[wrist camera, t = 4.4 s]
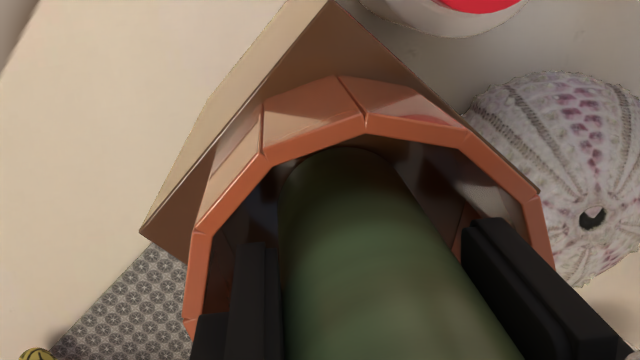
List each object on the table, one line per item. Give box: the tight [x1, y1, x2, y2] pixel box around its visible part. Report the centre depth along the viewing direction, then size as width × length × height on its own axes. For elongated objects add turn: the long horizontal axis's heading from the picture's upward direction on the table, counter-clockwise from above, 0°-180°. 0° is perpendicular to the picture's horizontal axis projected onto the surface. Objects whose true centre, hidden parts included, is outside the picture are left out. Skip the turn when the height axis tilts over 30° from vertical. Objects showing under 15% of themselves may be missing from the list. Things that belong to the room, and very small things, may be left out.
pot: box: [139, 0, 556, 342], centre depth 22 cm, size 8×8×22 cm
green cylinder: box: [277, 147, 525, 360], centre depth 11 cm, size 4×4×10 cm
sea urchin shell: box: [461, 70, 640, 288], centre depth 31 cm, size 13×14×8 cm
